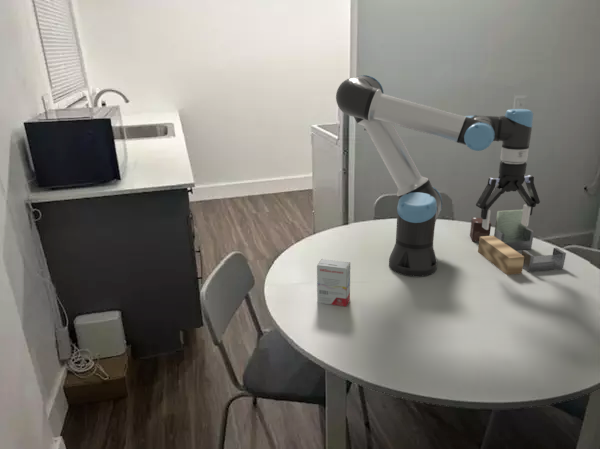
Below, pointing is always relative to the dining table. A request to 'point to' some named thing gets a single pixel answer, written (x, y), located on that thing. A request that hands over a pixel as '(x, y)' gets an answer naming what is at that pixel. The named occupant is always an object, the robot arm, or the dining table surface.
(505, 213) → the cup bracket
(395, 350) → the dining table surface
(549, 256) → the rest saddle
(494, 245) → the light wood long block
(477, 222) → the box
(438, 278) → the dining table surface
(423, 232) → the robot arm
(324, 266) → the ink box
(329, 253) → the dining table surface
